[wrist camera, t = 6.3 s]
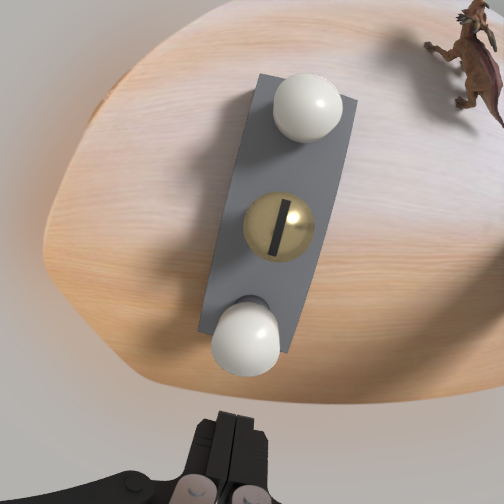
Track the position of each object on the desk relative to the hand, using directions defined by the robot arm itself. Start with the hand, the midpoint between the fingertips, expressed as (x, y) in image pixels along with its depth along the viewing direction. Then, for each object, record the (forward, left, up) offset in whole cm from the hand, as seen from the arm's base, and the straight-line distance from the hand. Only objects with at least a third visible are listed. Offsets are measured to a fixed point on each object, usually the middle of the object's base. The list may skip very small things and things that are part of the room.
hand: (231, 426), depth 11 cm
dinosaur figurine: (+5, -32, -17) cm, 37 cm away
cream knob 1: (0, 0, -10) cm, 10 cm away
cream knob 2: (+10, -13, -12) cm, 20 cm away
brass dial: (+5, -6, -10) cm, 13 cm away
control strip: (+5, -6, -16) cm, 18 cm away
